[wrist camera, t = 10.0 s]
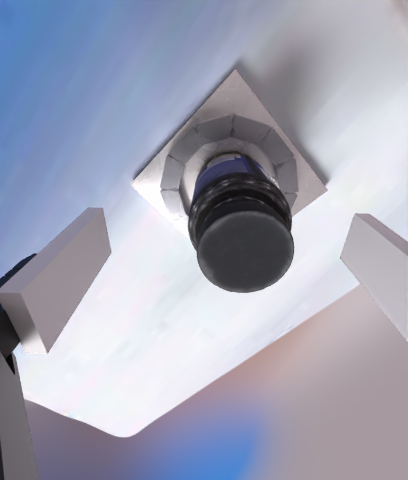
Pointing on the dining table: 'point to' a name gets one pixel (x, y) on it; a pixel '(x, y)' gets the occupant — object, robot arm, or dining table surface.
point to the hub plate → (226, 141)
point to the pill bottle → (240, 225)
